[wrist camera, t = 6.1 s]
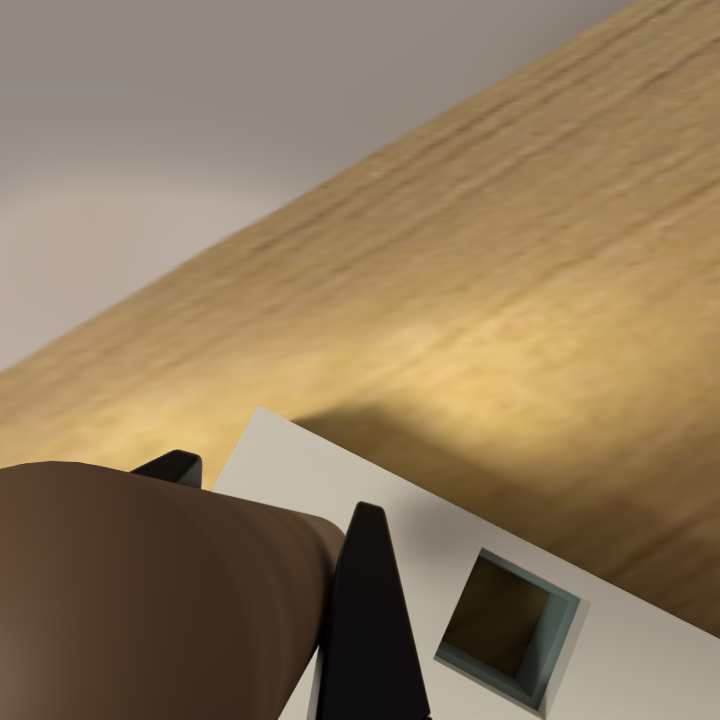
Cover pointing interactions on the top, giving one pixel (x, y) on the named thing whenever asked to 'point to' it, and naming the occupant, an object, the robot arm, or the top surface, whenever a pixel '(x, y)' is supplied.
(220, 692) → the brown wooden peg
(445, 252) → the top surface
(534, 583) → the teal box base
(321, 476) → the lid
